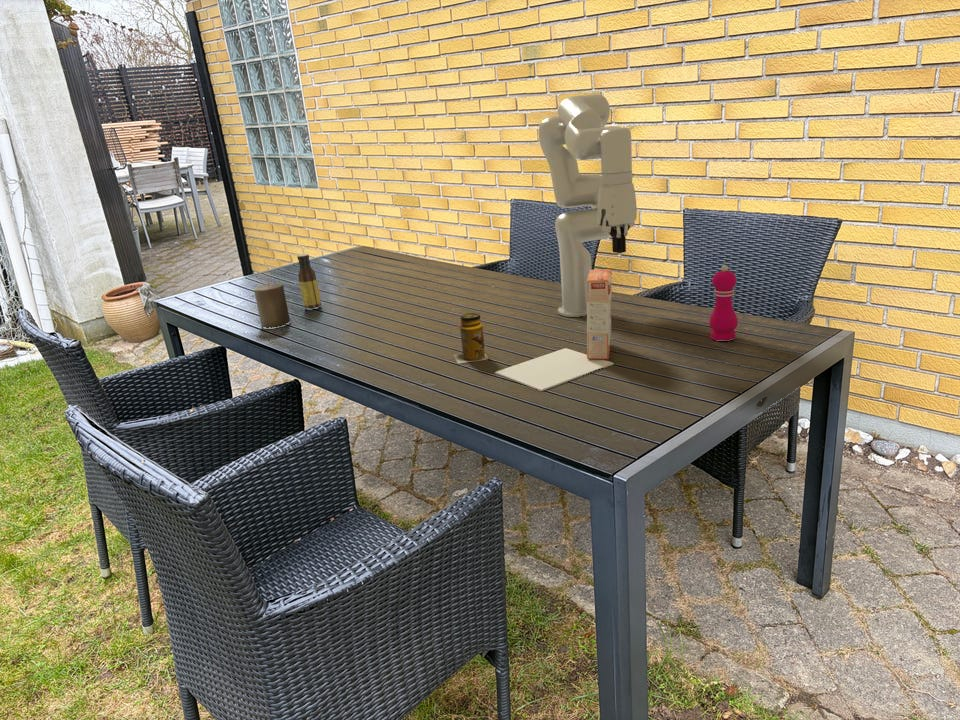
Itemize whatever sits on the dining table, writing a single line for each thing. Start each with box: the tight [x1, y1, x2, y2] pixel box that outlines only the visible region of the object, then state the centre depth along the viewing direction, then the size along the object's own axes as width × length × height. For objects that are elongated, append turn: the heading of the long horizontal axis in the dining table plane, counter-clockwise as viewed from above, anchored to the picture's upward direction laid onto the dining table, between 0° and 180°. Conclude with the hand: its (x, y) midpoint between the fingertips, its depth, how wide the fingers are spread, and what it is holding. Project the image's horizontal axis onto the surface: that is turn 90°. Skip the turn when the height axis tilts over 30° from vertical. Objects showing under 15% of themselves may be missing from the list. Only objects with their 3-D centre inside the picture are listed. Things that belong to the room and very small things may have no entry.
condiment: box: [452, 312, 490, 365], centre depth 198 cm, size 7×8×12 cm
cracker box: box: [586, 268, 612, 360], centre depth 191 cm, size 14×6×21 cm, turn 168°
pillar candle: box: [253, 282, 291, 328], centre depth 246 cm, size 10×10×15 cm
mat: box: [494, 347, 615, 392], centre depth 185 cm, size 24×18×1 cm
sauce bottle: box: [296, 253, 322, 309], centre depth 263 cm, size 6×6×20 cm
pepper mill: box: [708, 264, 739, 340], centre depth 193 cm, size 7×7×20 cm
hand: (619, 252), depth 189 cm, fingers closed
